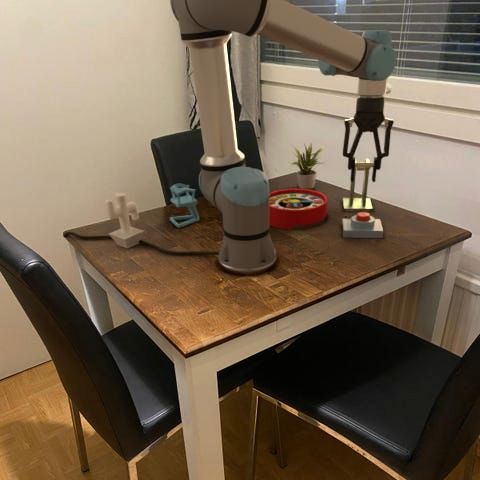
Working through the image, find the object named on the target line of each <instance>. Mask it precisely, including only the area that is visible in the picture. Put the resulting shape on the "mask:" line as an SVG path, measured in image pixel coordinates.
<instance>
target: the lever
mask: <svg viewBox="0 0 480 480" xmlns="http://www.w3.org/2000/svg"><path fill="white" fill-rule="evenodd" d="M355 167H356V172H364V170H365V167H371V168H373V167H374V161H373V162H372V161H370V162H365V161H364V162H363V161H360V162H359V161H356V162H355Z"/></svg>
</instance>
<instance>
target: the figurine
mask: <svg viewBox="0 0 480 480" xmlns="http://www.w3.org/2000/svg"><path fill="white" fill-rule="evenodd" d="M113 195H114V202H113V200H111V199H109V198H108V199H106V200H105V207H106V213H107V216H108V218H109V219H110V220H115V219H118V221H119V226H120V228H119V229H117V230H114V231H112V232H109V233H108V236H111V237H112V239H111V240H113V241H114V243H115V244H116V245H117V246H119V247H122V248H125V249H131V248H132V247H134V246H136V245H139V244H140V243H139V240H142V237H143V236H144V233H145V230H143V229H140V228H137V227H133V226H131V223H130V215H131V219H132V220H133V221H138V220H139V217H140V216H139V211H138V206H137V203H136V202H135V201H129V202H127V194H126V193H125V192H120V191H117V192H115V193H114V194H113ZM114 204H116V206H115V207H114Z"/></svg>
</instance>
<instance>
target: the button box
mask: <svg viewBox="0 0 480 480" xmlns="http://www.w3.org/2000/svg"><path fill="white" fill-rule="evenodd" d="M356 219H357V214H356V215H353V216H351V218H342V219H341V224H342V238H350V239H351V238H354V239H355V238H359V239H383V238H384V228H383V225H382V221H381V218H375V217H373V216H371V215H370V218H369V221H358V220H356Z"/></svg>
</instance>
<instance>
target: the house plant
mask: <svg viewBox="0 0 480 480" xmlns="http://www.w3.org/2000/svg"><path fill="white" fill-rule="evenodd" d="M303 144H304V148H305V152H303V153H302V154H301V153H300V150H299V149H298V148H296V147H295V146H293V145H292V146H291V147H292V148H293V149H294V151H295V152H294V151H292V154H293V155H295V157H296V158H297V159H298V160H297V161H293V162H291V165H296V166H297V167H298V168H299V170H298V171H296V177H297V187H298V189H307V190H312V189H314V187H315V185H316V178H317V171H316V170H315V169H313V167H315V166H316V165H318V164H319V165H321V164H322V165H323V166H325V163H327V162H325V161H323V162H319V159H320V158H321V154H320V153H321V152H323V151H325V149H324V148H326V147H327V146H326V145H325V146H322V147H320V148H319V149H318V150H316V152H314V153H312V152H313V144H312V143H310V144H309V146H308V148H307V146H306V143H303ZM319 165H318V166H319Z"/></svg>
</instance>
